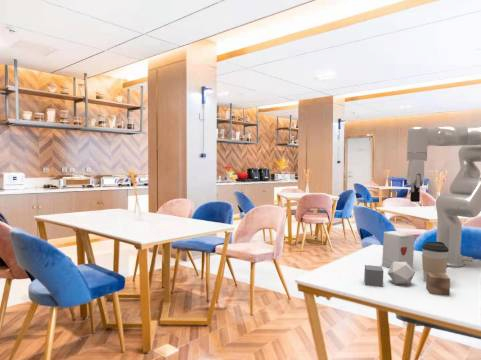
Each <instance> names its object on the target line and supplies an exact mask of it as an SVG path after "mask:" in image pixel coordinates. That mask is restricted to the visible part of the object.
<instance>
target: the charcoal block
mask: <svg viewBox="0 0 481 360" xmlns="http://www.w3.org/2000/svg"><path fill="white" fill-rule="evenodd" d="M363 274H364V276H363V277H364V279H363V280H364V281H363V282H364V285H365V286H369V287H378V288H383V287H384V269H383V265H382V266H381V265H370V264H369V265H368V264H365V265H364V273H363Z"/></svg>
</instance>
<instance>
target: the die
mask: <svg viewBox="0 0 481 360" xmlns="http://www.w3.org/2000/svg"><path fill="white" fill-rule="evenodd" d="M415 274H416V272H415V270H413V269H412V268H411V267H410V266H409V264H408V263H407V262H393V263H392V265H391V267H390V268H389V269H388V271H387V275H388V276H389V277H390V279H391V280H392V281H393V282H394V283H395V285H410V284H411V282H412V280H413V278H414V276H415Z"/></svg>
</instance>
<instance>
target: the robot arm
mask: <svg viewBox="0 0 481 360" xmlns="http://www.w3.org/2000/svg"><path fill="white" fill-rule="evenodd" d="M406 144H407V146H406V161H408V164H407V173H406V174H407V175H406V184H408V185H410V200H409V201H410V202H412V203H419V202H420V200H421V199H420V198H421V197H420V196H421V186H423V184H424V182H425V181H424V180H425V162H427V161H428V148H429V146H430V147H431V146H433V147H436V146H437V147H455V146H456V147H457V146H460V148H459V150H458V152H457V153H458V159H459V160H458V161H459V170H458V173H457V174H456V175H455V177H454V178H453V180H452V181H451V183H450V185H449V193H442V194H440V195H438V196H437V197H436V199H435V208H436V214H437V215H436V216H437V218H436V219H437V224H436V225H437V227H436V242H443V243H444V244H445V245H446V247H448V248H449V249H448V250H449V251H448V256H447V257H448V260H447V267H451V268H459V267H460V268H461V267H463V266H465V263H464V262H471V263H472V262H473V261H474V260H473V259H474V258H473V257H472V256H468V255H467V256H466V255H462V253H461V250H462V249H461V246H462V229H463V227H462V222H461V219H460V218H459V217H463V218H476V217H478V216H479V215H480V213H481V171H480V169H479V167H478V166H477V165H476V163H475V162H481V125H471V126H470V125H469V126H468V125H467V126H440V127H426V126H412V127H409V128H408V129H407V143H406Z"/></svg>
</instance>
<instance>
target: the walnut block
mask: <svg viewBox="0 0 481 360" xmlns="http://www.w3.org/2000/svg"><path fill="white" fill-rule="evenodd" d="M450 288H451V278H450V277H449V276H448V275H447V274H446V273H445V274H443V273H432V272H427V278H426V282H425V289H426V290H427V292H428V294H429V295H437V296H447V297H450V293H451V292H450Z"/></svg>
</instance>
